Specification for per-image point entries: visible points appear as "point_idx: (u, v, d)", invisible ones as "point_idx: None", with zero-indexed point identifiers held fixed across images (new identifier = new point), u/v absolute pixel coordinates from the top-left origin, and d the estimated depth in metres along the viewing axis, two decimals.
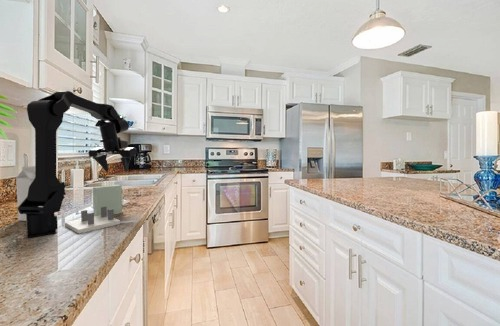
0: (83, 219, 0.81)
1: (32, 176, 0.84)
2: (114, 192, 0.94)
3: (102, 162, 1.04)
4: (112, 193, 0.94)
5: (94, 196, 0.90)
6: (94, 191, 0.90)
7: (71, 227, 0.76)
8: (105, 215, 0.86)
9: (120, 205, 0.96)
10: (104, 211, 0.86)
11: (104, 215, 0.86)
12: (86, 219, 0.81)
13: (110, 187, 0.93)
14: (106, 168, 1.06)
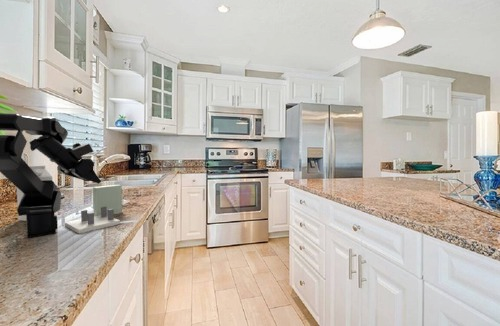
0: (83, 219, 0.81)
1: None
2: (114, 192, 0.94)
3: (76, 175, 0.89)
4: (112, 193, 0.94)
5: (94, 196, 0.90)
6: (94, 191, 0.90)
7: (71, 227, 0.76)
8: (105, 215, 0.86)
9: (120, 205, 0.96)
10: (104, 211, 0.86)
11: (104, 215, 0.86)
12: (86, 219, 0.81)
13: (110, 187, 0.93)
14: (86, 179, 0.91)
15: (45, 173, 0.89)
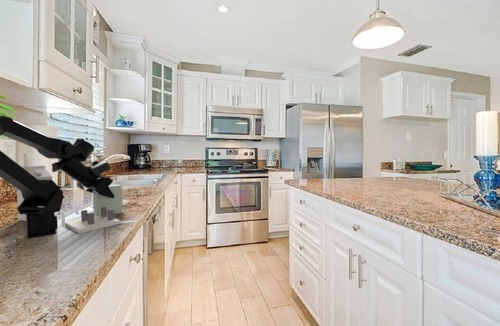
0: (83, 219, 0.81)
1: None
2: (114, 192, 0.94)
3: None
4: None
5: (94, 196, 0.90)
6: None
7: (71, 227, 0.76)
8: (105, 215, 0.86)
9: (120, 205, 0.96)
10: (104, 211, 0.86)
11: (104, 215, 0.86)
12: (86, 219, 0.81)
13: (110, 187, 0.93)
14: None
15: (45, 173, 0.89)
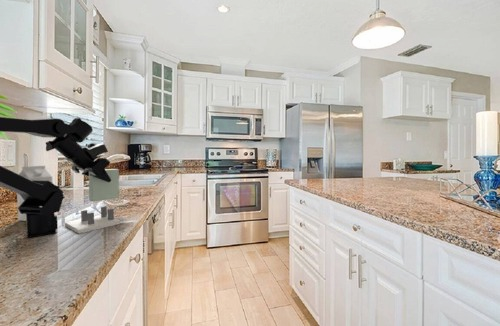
0: (83, 219, 0.81)
1: (32, 176, 0.84)
2: (111, 176, 0.91)
3: None
4: None
5: (90, 179, 0.87)
6: None
7: (71, 227, 0.76)
8: (105, 215, 0.86)
9: (117, 190, 0.93)
10: (104, 211, 0.86)
11: (104, 215, 0.86)
12: (86, 219, 0.81)
13: (107, 171, 0.90)
14: None
15: (45, 173, 0.89)
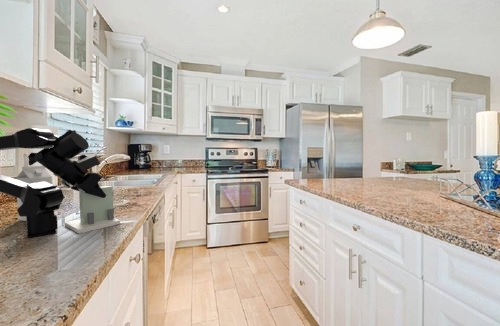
0: None
1: (32, 176, 0.84)
2: None
3: None
4: None
5: (81, 199, 0.78)
6: (80, 194, 0.78)
7: (71, 227, 0.76)
8: None
9: None
10: None
11: None
12: None
13: None
14: None
15: (45, 173, 0.89)
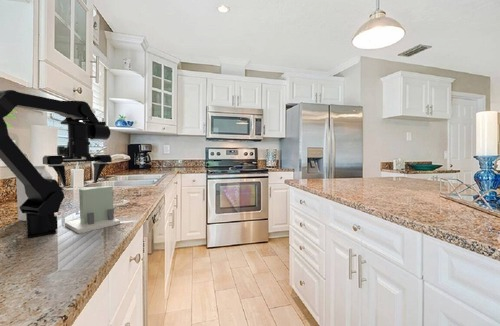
0: None
1: None
2: (104, 195, 0.82)
3: None
4: (102, 196, 0.82)
5: (81, 199, 0.78)
6: (80, 194, 0.78)
7: (71, 227, 0.76)
8: None
9: None
10: None
11: None
12: None
13: (99, 189, 0.81)
14: None
15: (45, 173, 0.89)
